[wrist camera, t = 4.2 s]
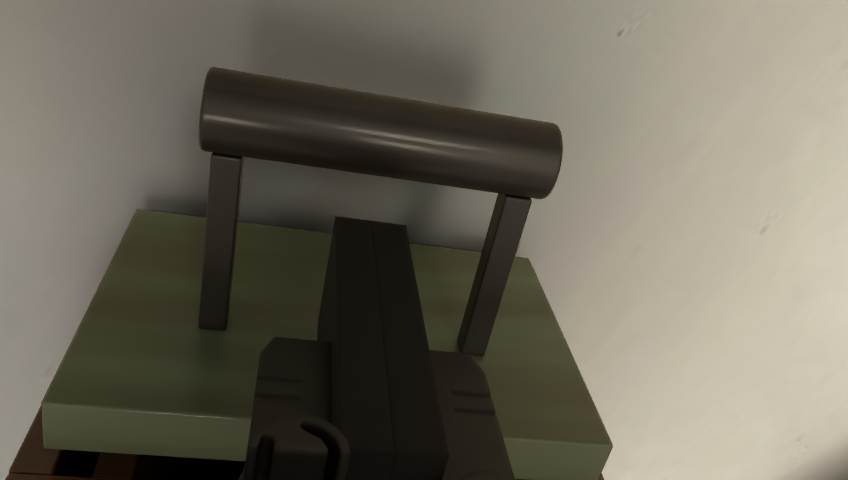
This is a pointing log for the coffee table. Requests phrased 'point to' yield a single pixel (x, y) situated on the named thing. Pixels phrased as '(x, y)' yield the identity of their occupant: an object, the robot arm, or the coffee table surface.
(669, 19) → the coffee table surface
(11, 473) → the cabinet
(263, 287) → the drawer
